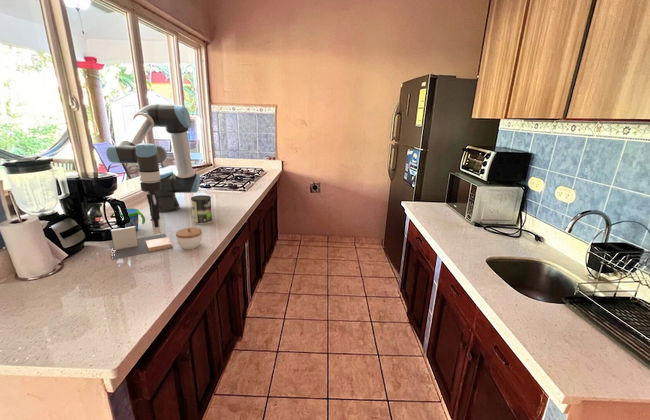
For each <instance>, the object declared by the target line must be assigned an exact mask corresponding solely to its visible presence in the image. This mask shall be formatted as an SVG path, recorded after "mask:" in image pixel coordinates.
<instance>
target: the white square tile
mask: <svg viewBox="0 0 650 420" xmlns="http://www.w3.org/2000/svg"><path fill="white" fill-rule="evenodd" d="M110 233H111V239H112V243H113V246H114V250H119V249H125V248H130V247H136V246H138V240H137V238H138V235H137V230H136V227H135V226H132V227H125V228H120V227H118V228H113V229H112V228H111V229H110Z"/></svg>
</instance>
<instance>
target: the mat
mask: <svg viewBox="0 0 650 420" xmlns="http://www.w3.org/2000/svg"><path fill="white" fill-rule="evenodd" d="M165 237H168V236H167V234H166V233H160V234H154V235H150V236H145V237H137V240H138V246H136V247H130V248H125V249H119V250H116V251H115V253H113V256H111V254H112V253H111V254H110V260H111V259H112V257H113V259H112V260H111V261H115V260H119V259H124V258H130V257H135V256H140V255H147V254H151V253H156V252H162V251H167V250H171V249H174V247H173V245H172V244H171V248H167V249H161V250H156V251H151V252H149V251H148V248H147V246H146V241H148V240H153V239H159V238H165ZM108 245H109V249H110V248H111V249H112V248H113V250H114V246H113V242H109V244H108ZM112 252H114V251H112ZM114 254H115V256H114Z"/></svg>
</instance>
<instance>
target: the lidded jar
mask: <svg viewBox="0 0 650 420" xmlns="http://www.w3.org/2000/svg"><path fill="white" fill-rule="evenodd" d="M175 236H176V242H177V244H178V246H179V247H180V248H182V249H184V250H193V249H196V248H198V247H199V246H200V245H201V244H202V240H203V230H202V229H201V228H199V227H185V228H182V229H179V230H177V231H176V232H175Z"/></svg>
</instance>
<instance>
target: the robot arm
mask: <svg viewBox="0 0 650 420" xmlns="http://www.w3.org/2000/svg"><path fill="white" fill-rule="evenodd" d="M191 123H192V121H191V115H190V112H189V110H188V108H187V107H186V106H184V105H180V104H168V103H165V104H164V103H163V104H162V103H159V104H158V103H151V104H148V105H145V106H143V107H141V108H140V109H139V110H137V111H136V113H134V115H133V117H132V123H131V124H130V126H129V127H128V129H127V130H126V132H125V133H124V135H123V136H122V138H121V139H120V141H119V142H118V144H117V145H115V144H113V145H109V146H107V148H106V157H107V160H108V161H109V162H110V163H111V164H112V163H113V164H117V163H118V164H137V168H138V174H137V177H139V181H140V190H141V191H142V192H145V193H147V194H146V198H147V203H148V207H149V208H148V209H149V213H150V214H149V215H150V217H151V218H150V220H149V221H151V224H152V232H153V235H160V234H162V233H161V232H162V231H161V224H160V223H161V222H160V219H161V217H160V213H171V212H174V211H177V210H179V209H180V206H181V205H180V202H179V201H178V199H177V197H176V194H179V193H180V194H183V193H186V194H191V193H192V194H193V193H197V192H198V191H199V188H200V183H201V181H200V180H201V179H200V174H199V173H197V172H196V170H195V169H194V168H193V164H192V158H191V153H190V146H189V141H188V136H187V133H188V131H189V130H190V129H189V128H191V125H192V124H191ZM155 127H161V128H164V129H165V132H166V133H167V134H169V139H170V143H171V147H172V152H173V157H174V163H175V167H176V170H175V173H174V172H173V171H172V170H166V171H160V166H159V164H161V163H162V162H164V161H165V160H166V159H167V157H168V152H167V150H166V149H165V148H164V147H163V146H161V145H156V144H155V143H146V142H145V143H143V142H144V140H145V138H146V137H147V135H148V133H149V132H150V131H151V130H152V129H154V128H155Z"/></svg>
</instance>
